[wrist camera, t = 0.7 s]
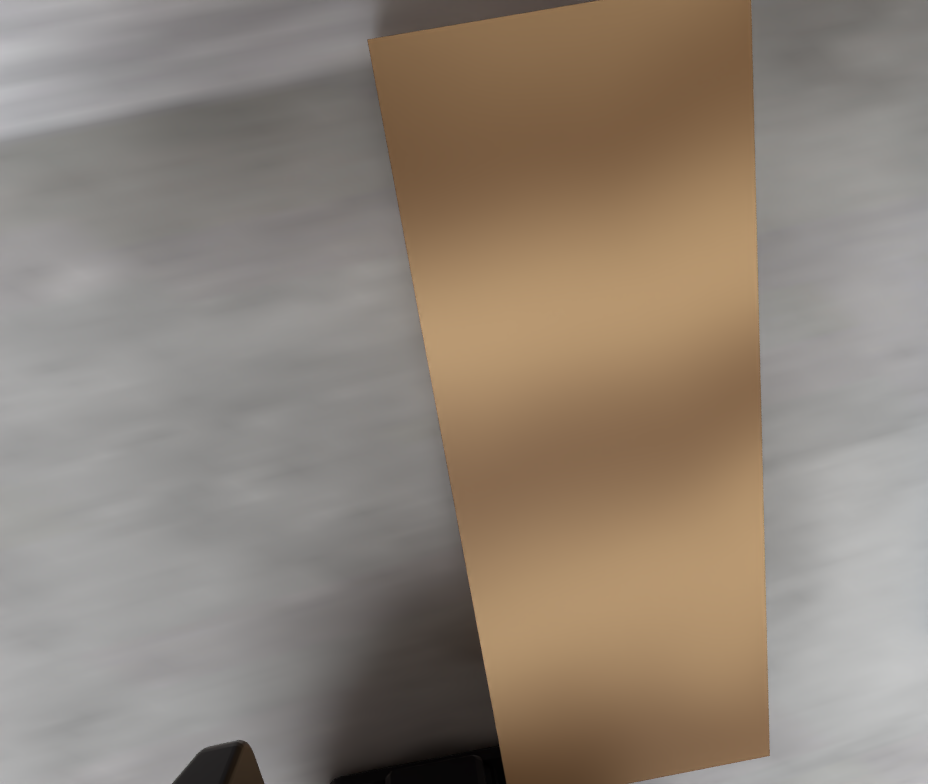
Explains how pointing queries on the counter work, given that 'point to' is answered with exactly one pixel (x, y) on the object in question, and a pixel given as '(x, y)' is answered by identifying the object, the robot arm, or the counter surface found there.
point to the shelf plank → (596, 370)
